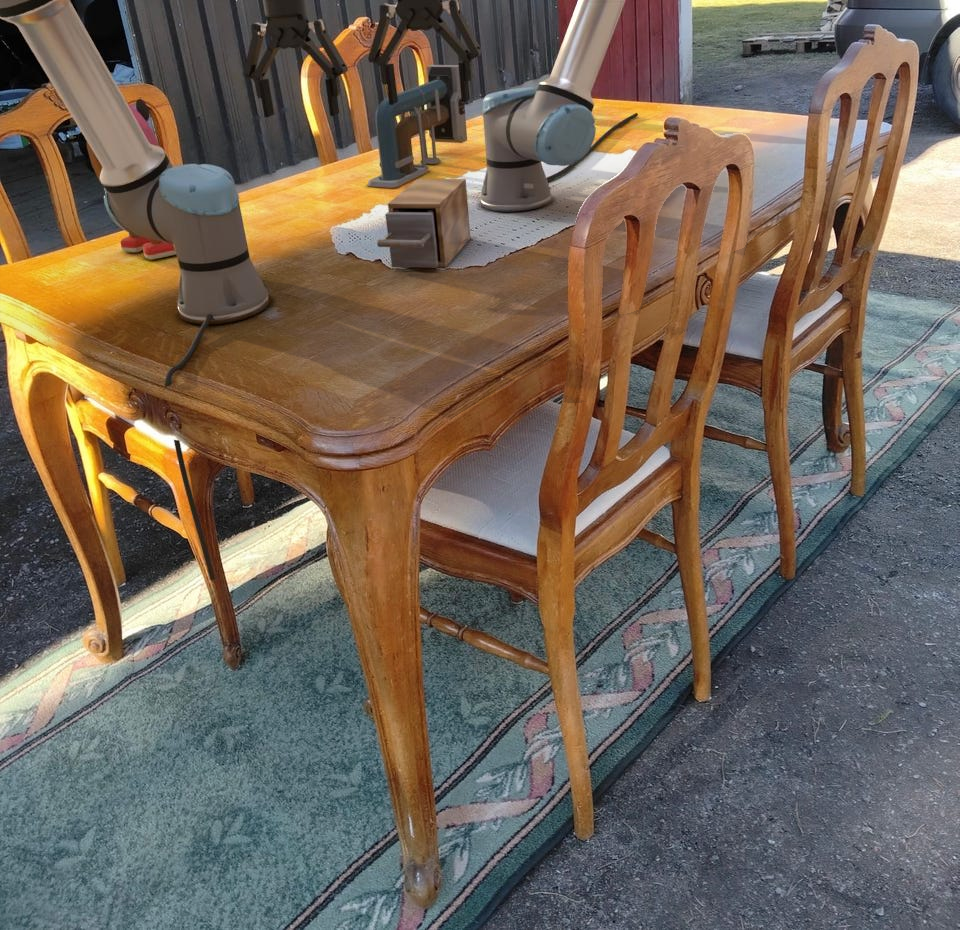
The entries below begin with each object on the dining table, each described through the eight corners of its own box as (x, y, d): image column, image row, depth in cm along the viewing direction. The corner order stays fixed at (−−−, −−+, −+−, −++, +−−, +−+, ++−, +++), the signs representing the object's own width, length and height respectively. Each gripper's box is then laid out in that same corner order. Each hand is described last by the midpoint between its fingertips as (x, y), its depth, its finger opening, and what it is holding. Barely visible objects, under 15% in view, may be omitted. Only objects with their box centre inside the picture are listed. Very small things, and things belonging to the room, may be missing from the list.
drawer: (426, 279, 169) (420, 224, 164) (380, 278, 171) (373, 223, 166) (460, 240, 186) (456, 190, 181) (418, 240, 188) (413, 190, 183)
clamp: (395, 188, 226) (384, 92, 216) (364, 185, 230) (352, 91, 219) (468, 152, 252) (461, 65, 241) (439, 150, 256) (431, 64, 245)
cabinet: (445, 267, 176) (439, 203, 170) (395, 265, 179) (387, 203, 173) (470, 238, 190) (465, 178, 184) (423, 237, 192) (417, 178, 187)
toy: (206, 251, 195) (170, 95, 179) (161, 266, 188) (121, 105, 173) (151, 235, 208) (114, 87, 192) (108, 248, 202) (66, 97, 186)
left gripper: (354, -14, 174) (369, 109, 184) (230, -7, 180) (251, 112, 191) (339, -10, 167) (355, 118, 178) (210, -3, 174) (234, 120, 185)
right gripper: (492, -38, 163) (501, 95, 174) (354, -28, 169) (371, 100, 180) (481, -34, 157) (491, 103, 167) (338, -23, 163) (357, 108, 174)
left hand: (301, 115), depth 184 cm, fingers open, 13 cm apart
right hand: (429, 102), depth 174 cm, fingers open, 13 cm apart
